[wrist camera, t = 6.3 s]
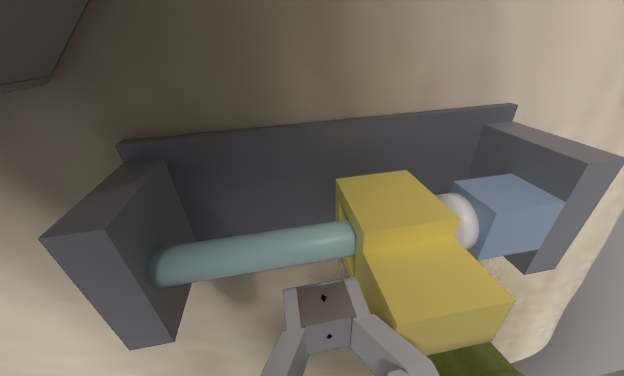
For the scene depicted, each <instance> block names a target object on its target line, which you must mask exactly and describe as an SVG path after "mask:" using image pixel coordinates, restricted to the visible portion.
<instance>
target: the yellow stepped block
mask: <svg viewBox="0 0 624 376" xmlns="http://www.w3.org/2000/svg"><path fill="white" fill-rule="evenodd" d="M347 219H349V220H350V223H351V225H352V227H353V229H354V231H355V233H356V235H357V238H356V255H355V256H349V257H343V258H342V260H343V263H344V265H345V268H346V271H347V274H348V276H349V278H351V277H355V278H356V279H357V281H358V283H359V286H360V288H361V291H362V293H363V296H364V298H365V301H366V303H367V306H368V308H369V311H370V313H371V314H375V315H377V316H378V317H379V318H380V319H381V320H383V321H384V322H385V323H386V324H388V325H389V326H390V327H391V328H392V329H394V330H395V331H396V332H397V333H398V334H400V335H401V336H402V337H403V338H404V339H406V340H407V341H408V342H409V343H411V344H412V345H413V346H414V347H415V348H417V349H418V350H419V351H420V352H421V353H423V354H424V355H425V356H428V355H432V354H436V353H441V352H445V351H450V350H454V349H459V348H463V347H468V346H472V345H477V344H481V343H486V342H490V341H492V340H493V338H494V336H495V335H496V333H497V331H498V330H499V328H500V326H501V325H502V323H503V321H504V320H505V318H506V316H507V315H508V313H509V311H510V310H511V308H512V306H513V305H514V303H515V301H516V300H515V299H514V298H513V297H512V296H511V295H510V294H509V293H508V292H507V291H506V290H505V289H504V288H503V287H502V286H501V285H500V283H499V282H498V281H497V280H496V279H495V278H494V277H493V276H492V275H491V274H490V273H489V272H488V271H487V270H486V269H485V268H484V267H483V266H482V265H481V264H480V263H479V262H478V261H477V260H476V259H475V258H474V257H473V256H472V255H471V254H470V253H469V252H468V251H467V250H466V249H465V248H464V247H463V246H462V245H461V244H460V243H459V242H458V240H457V239H456V238H455V234H456V230H457V227H458V224H459V221H460V217H458V216H457V215H456V214H455V213H454V212H453V211H452V210H451V209H450V208H448V207H447V206H446V205H445V204H444V203H443V202H442V201H441V200H439V199H438V198H437V197H436V196H435V195H434V194H433V193H432V192H431V191H429V190H428V189H427V188H426V187H425V186H424V185H423V184H422V183H421V182H419V181H418V180H417V179H416V178H415V177H414V176H413V175H412V174H410V173H409V172H408V171H407V170H402V171H394V172H386V173H378V174H370V175H362V176H354V177H346V178H338V179H336V221H340V220H347Z"/></svg>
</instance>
